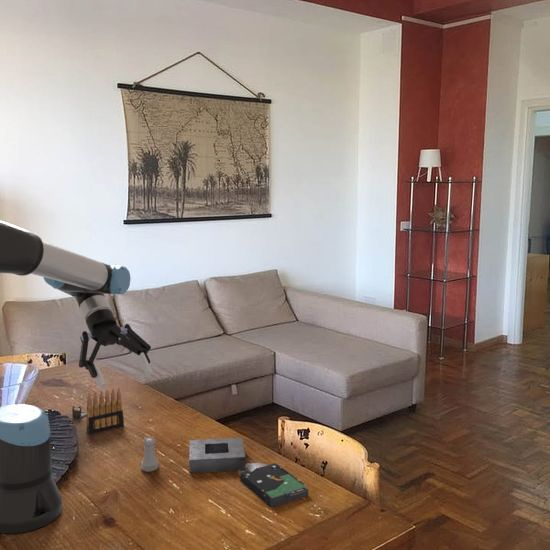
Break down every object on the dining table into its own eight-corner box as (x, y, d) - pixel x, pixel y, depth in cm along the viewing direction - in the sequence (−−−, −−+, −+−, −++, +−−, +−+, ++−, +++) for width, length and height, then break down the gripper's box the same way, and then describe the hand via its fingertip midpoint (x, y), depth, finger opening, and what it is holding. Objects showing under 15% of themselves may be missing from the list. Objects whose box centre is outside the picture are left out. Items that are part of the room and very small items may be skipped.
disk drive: (239, 483, 146) (271, 509, 133) (239, 472, 145) (271, 497, 133) (275, 472, 151) (309, 497, 139) (275, 462, 151) (309, 485, 138)
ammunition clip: (121, 424, 181) (120, 386, 179) (124, 426, 179) (122, 387, 177) (86, 432, 174) (84, 393, 173) (88, 434, 173) (86, 394, 171)
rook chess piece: (160, 464, 154) (159, 434, 153) (157, 472, 150) (156, 441, 149) (142, 464, 154) (141, 434, 153) (139, 472, 150) (138, 442, 149)
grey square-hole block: (245, 470, 151) (245, 456, 151) (189, 473, 149) (189, 460, 149) (242, 449, 163) (242, 437, 162) (190, 452, 161) (189, 440, 161)
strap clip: (80, 414, 190) (80, 401, 189) (89, 414, 189) (88, 401, 189) (65, 424, 182) (64, 410, 181) (74, 424, 181) (73, 411, 180)
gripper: (134, 316, 177) (163, 377, 168) (50, 330, 160) (77, 399, 152) (142, 301, 172) (172, 363, 163) (57, 314, 156) (85, 384, 147)
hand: (127, 381), depth 157 cm, fingers open, 13 cm apart
